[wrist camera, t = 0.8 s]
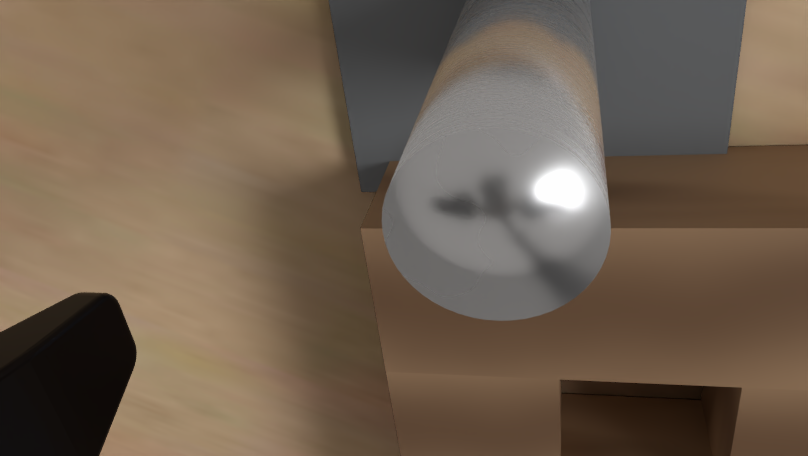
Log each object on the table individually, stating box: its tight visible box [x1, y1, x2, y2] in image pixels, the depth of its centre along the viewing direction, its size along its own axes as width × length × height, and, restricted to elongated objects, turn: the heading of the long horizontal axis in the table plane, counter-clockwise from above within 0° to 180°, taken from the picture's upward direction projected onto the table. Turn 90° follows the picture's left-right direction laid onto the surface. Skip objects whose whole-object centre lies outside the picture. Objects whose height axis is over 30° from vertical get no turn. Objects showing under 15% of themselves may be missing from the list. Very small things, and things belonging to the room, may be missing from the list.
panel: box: [329, 0, 747, 192], centre depth 18 cm, size 10×10×1 cm
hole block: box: [360, 145, 808, 456], centre depth 22 cm, size 14×14×4 cm
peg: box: [382, 0, 611, 321], centre depth 14 cm, size 3×3×10 cm
